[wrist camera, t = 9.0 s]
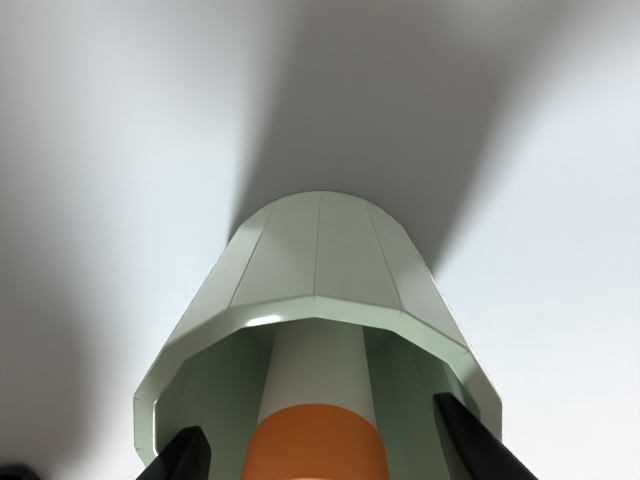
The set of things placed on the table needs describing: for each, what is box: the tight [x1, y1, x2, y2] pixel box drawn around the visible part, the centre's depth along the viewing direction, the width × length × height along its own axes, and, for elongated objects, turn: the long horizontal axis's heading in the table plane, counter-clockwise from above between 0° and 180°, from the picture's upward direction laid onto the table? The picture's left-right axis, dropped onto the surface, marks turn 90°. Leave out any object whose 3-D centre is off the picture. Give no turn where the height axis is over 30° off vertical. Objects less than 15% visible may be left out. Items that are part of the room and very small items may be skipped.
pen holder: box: [133, 191, 502, 480], centre depth 11 cm, size 8×8×7 cm
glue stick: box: [240, 317, 390, 480], centre depth 10 cm, size 3×3×8 cm
